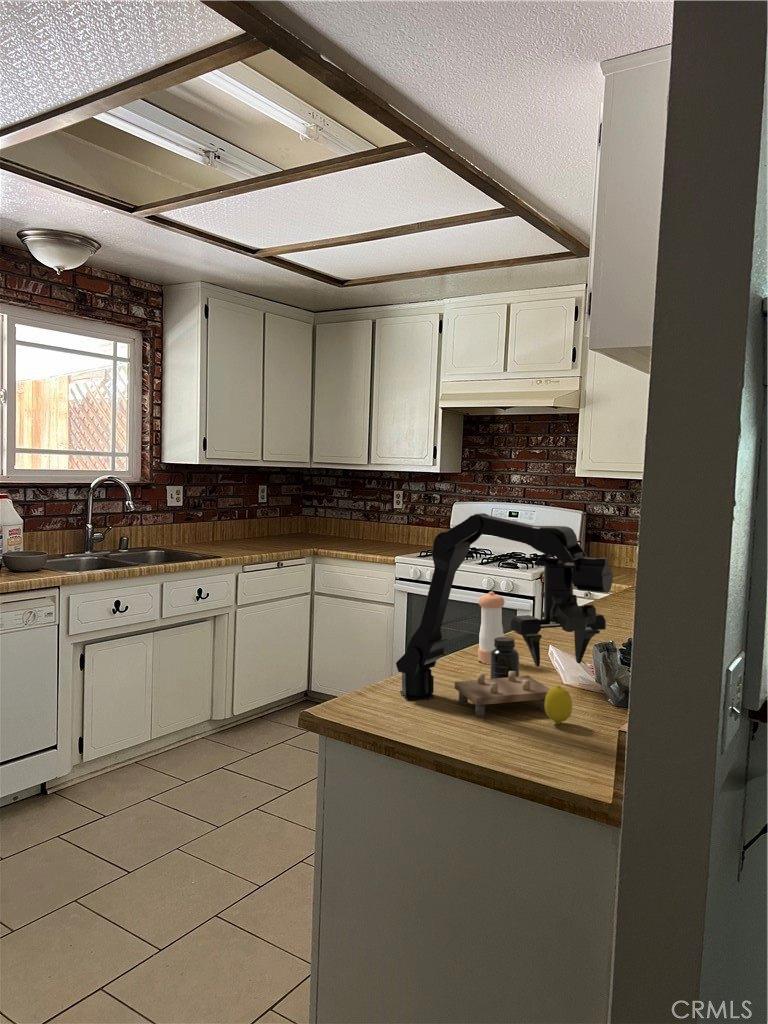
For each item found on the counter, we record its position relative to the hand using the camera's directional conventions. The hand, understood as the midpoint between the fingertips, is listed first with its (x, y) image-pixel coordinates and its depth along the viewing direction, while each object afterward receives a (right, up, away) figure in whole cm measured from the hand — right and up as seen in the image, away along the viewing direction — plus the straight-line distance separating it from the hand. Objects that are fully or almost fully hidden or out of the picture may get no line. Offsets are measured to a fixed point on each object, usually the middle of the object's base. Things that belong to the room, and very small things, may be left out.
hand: (558, 664), depth 157 cm
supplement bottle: (-7, -11, +27) cm, 30 cm away
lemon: (0, -13, +1) cm, 13 cm away
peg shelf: (-9, -12, +13) cm, 20 cm away
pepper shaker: (-6, -10, +53) cm, 54 cm away
